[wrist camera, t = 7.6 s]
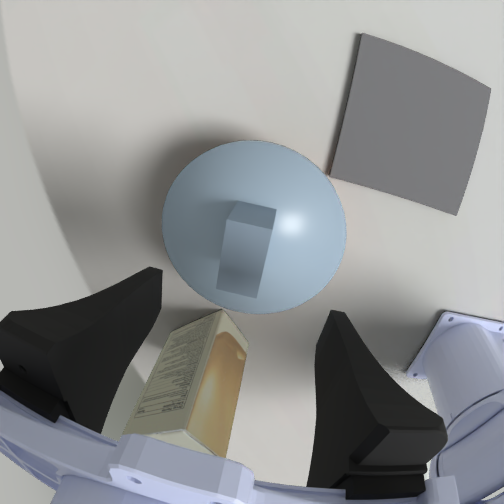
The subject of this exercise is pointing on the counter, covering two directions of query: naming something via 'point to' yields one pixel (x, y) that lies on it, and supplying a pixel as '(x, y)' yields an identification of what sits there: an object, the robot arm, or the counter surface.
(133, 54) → the counter surface
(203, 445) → the skincare box
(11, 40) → the counter surface
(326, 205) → the lid
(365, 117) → the mat
